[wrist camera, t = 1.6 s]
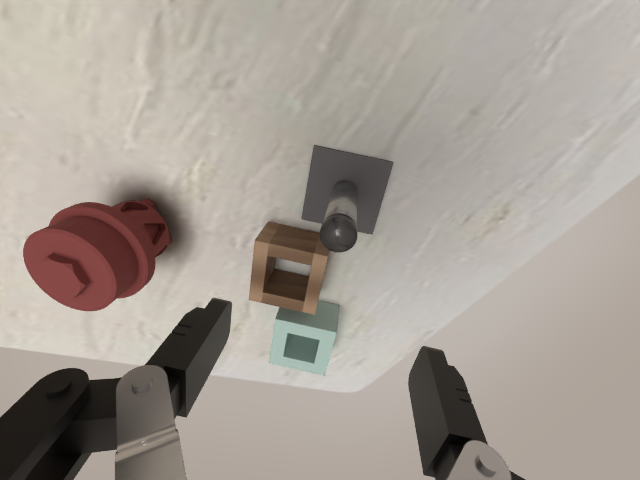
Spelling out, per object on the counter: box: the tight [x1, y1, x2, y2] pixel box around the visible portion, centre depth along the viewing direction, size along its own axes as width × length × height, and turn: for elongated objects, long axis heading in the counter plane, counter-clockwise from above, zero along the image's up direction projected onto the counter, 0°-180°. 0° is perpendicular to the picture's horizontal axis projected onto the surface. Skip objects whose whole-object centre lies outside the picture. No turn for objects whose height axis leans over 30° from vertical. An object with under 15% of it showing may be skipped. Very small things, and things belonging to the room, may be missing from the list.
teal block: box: [269, 300, 339, 376], centre depth 38 cm, size 7×7×5 cm
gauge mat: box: [302, 145, 393, 234], centre depth 32 cm, size 8×8×1 cm
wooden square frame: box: [249, 222, 329, 315], centre depth 34 cm, size 7×7×5 cm
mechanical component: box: [23, 199, 172, 311], centre depth 31 cm, size 12×10×10 cm
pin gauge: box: [320, 180, 357, 252], centre depth 27 cm, size 3×3×11 cm
